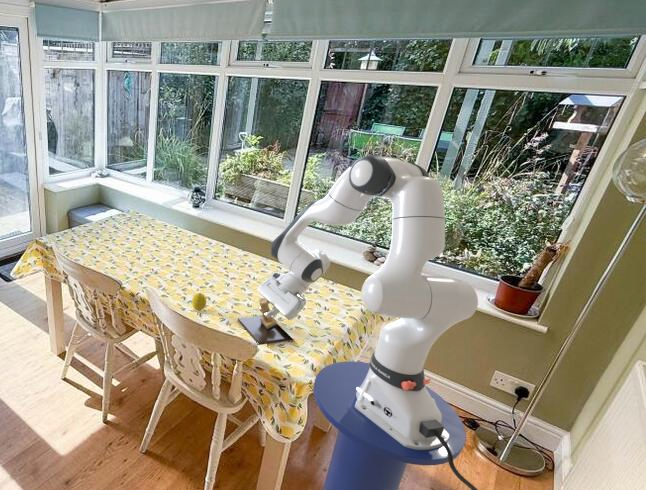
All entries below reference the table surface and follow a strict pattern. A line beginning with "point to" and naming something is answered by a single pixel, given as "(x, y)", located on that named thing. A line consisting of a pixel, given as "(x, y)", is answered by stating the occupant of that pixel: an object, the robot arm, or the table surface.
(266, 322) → the brush
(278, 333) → the tablet
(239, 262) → the table surface
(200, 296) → the lemon
